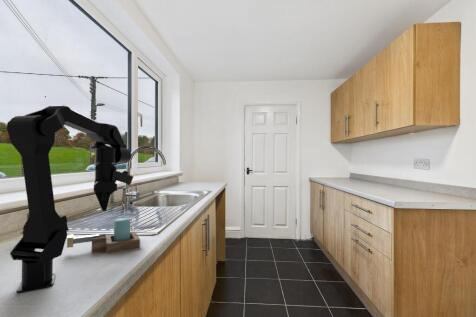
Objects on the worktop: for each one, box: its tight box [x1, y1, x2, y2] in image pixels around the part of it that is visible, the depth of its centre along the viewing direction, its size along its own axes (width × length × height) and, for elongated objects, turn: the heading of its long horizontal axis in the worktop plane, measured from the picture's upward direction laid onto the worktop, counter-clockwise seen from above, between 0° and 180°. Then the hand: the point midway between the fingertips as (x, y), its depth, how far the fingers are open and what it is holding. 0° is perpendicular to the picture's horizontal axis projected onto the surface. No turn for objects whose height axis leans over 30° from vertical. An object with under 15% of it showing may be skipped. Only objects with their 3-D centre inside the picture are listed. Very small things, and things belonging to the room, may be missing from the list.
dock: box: [91, 231, 141, 255], centre depth 84 cm, size 10×14×4 cm
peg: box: [113, 217, 131, 242], centre depth 85 cm, size 5×5×9 cm
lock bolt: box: [66, 233, 100, 248], centre depth 79 cm, size 3×8×3 cm, turn 120°
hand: (104, 210), depth 82 cm, fingers closed
